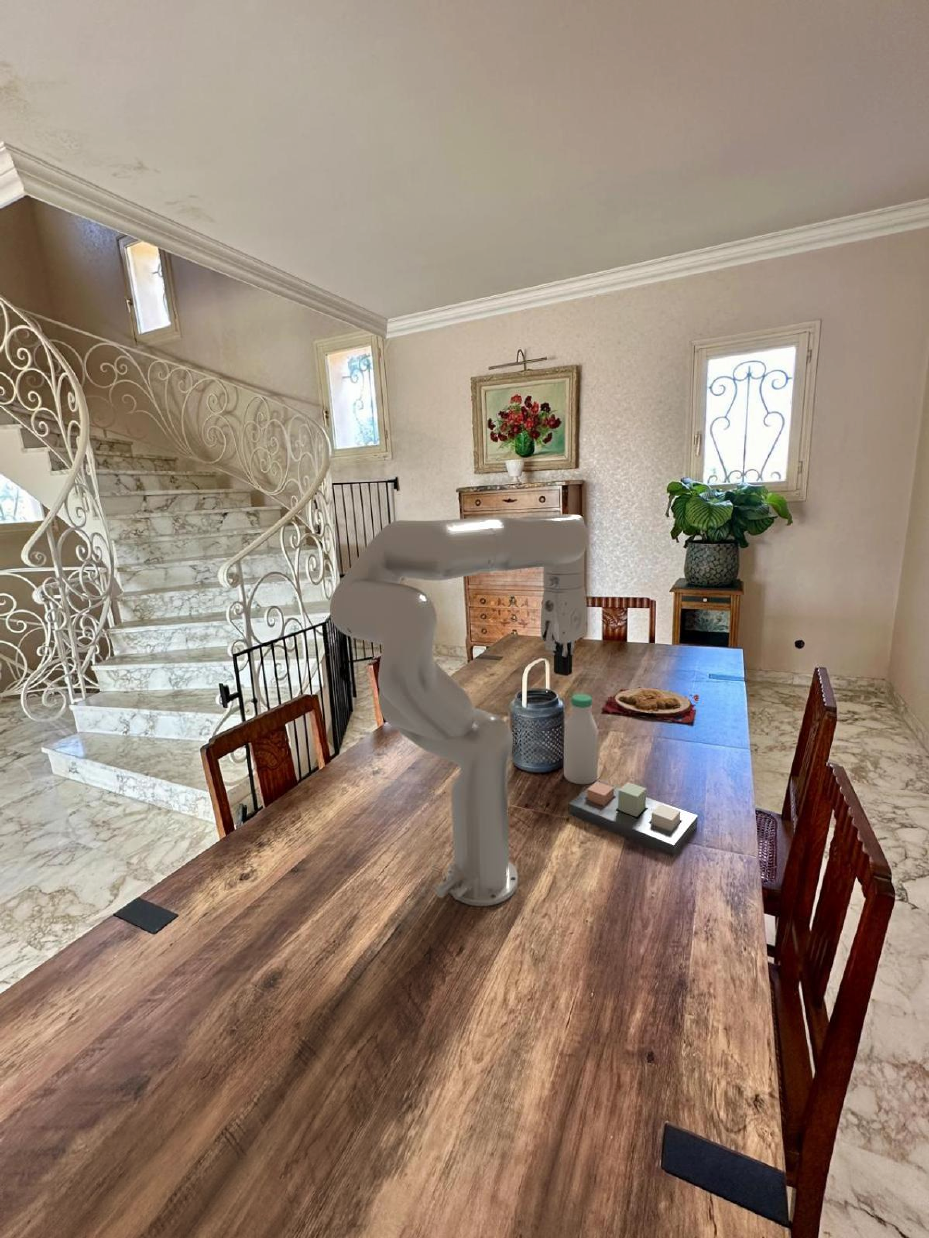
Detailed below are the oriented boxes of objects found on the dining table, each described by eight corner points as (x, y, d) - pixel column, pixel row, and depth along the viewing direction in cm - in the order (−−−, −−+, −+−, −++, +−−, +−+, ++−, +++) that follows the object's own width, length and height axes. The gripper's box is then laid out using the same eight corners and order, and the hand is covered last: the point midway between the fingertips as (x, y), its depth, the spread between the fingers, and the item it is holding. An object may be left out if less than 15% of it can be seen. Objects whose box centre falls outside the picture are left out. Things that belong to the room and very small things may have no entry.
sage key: (636, 816, 111) (637, 796, 110) (617, 809, 113) (618, 790, 112) (645, 807, 114) (646, 788, 113) (626, 801, 116) (627, 781, 115)
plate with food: (693, 728, 157) (694, 716, 156) (601, 713, 168) (601, 702, 167) (698, 699, 178) (699, 689, 177) (616, 687, 189) (617, 678, 188)
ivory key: (670, 840, 107) (672, 820, 106) (650, 832, 109) (651, 812, 108) (679, 831, 110) (680, 810, 109) (659, 823, 112) (660, 803, 111)
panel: (672, 857, 103) (673, 844, 102) (568, 814, 117) (568, 803, 116) (696, 827, 111) (697, 815, 111) (597, 790, 126) (597, 780, 125)
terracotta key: (604, 814, 116) (604, 795, 115) (587, 807, 118) (587, 789, 117) (613, 806, 119) (613, 787, 118) (596, 799, 121) (596, 781, 120)
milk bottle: (597, 786, 127) (599, 704, 123) (563, 784, 129) (563, 702, 124) (596, 770, 135) (598, 691, 130) (564, 767, 136) (564, 690, 132)
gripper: (558, 589, 98) (558, 688, 102) (600, 577, 108) (598, 667, 113) (523, 585, 103) (524, 680, 107) (567, 574, 113) (566, 660, 118)
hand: (562, 673), depth 110 cm, fingers closed
